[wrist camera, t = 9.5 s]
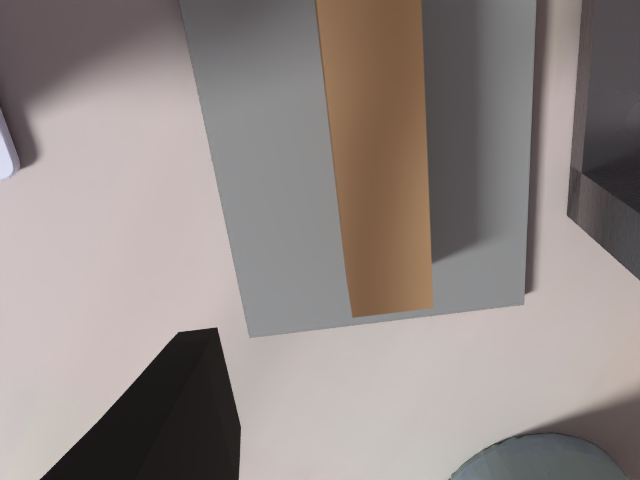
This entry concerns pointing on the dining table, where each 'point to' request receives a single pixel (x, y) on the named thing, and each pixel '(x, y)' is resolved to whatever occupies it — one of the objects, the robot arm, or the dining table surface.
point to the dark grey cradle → (608, 130)
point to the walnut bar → (379, 149)
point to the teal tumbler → (541, 460)
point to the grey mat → (317, 164)
